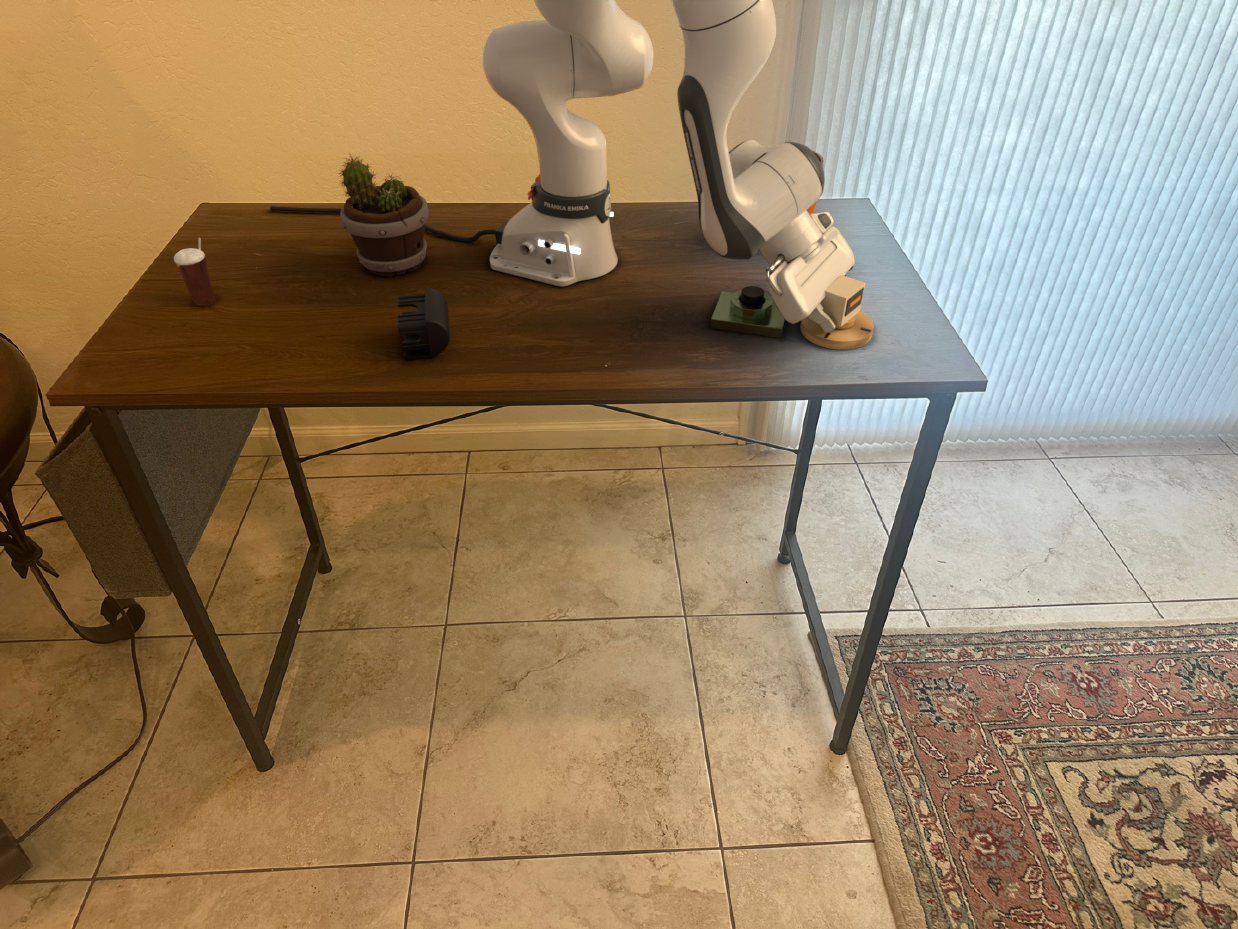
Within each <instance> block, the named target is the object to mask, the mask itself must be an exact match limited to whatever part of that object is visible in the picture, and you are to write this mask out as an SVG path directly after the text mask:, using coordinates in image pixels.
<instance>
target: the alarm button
mask: <svg viewBox="0 0 1238 929" xmlns="http://www.w3.org/2000/svg"><path fill="white" fill-rule="evenodd" d="M740 290H741V299H740V301H741V303H742V304H745V305H748V306H759V305H762V304H763V302H764V293H765V292H766V291H765V290H764V288H761V287H760V286H755V285H748V286H745V287H744V286H743V288H742V289H740Z"/></svg>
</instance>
